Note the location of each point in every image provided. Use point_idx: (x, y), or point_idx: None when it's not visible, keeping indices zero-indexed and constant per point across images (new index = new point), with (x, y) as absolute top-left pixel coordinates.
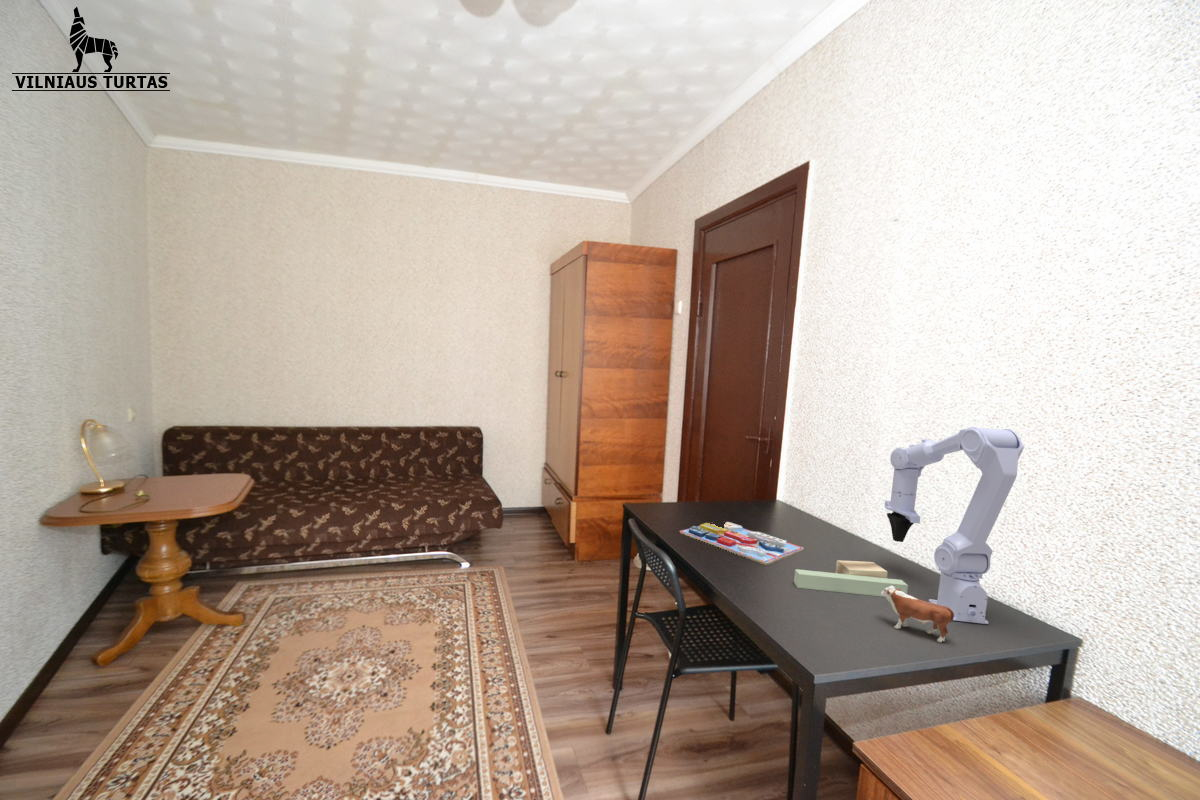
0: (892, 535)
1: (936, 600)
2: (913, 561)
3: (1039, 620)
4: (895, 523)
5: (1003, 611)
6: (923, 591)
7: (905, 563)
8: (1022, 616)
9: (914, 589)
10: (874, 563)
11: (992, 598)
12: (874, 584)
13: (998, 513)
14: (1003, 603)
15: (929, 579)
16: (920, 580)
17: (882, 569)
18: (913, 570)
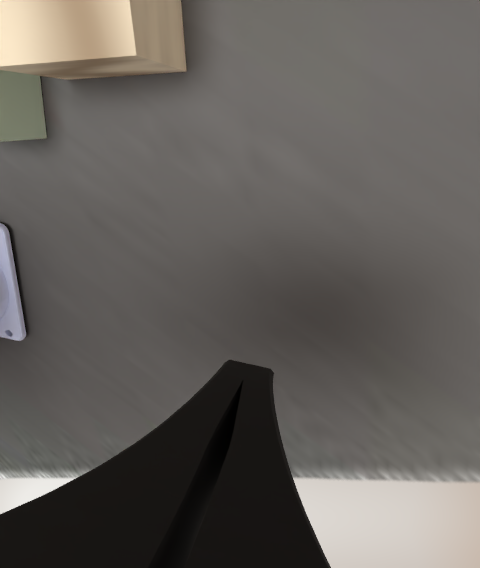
0: (265, 386)
1: (2, 254)
2: (448, 480)
3: (11, 470)
4: (82, 486)
5: (32, 428)
6: (106, 277)
7: (425, 428)
8: (18, 450)
9: (116, 249)
10: (107, 48)
11: None
12: None
13: None
14: None
15: None
16: (222, 348)
17: (8, 46)
18: (336, 401)
